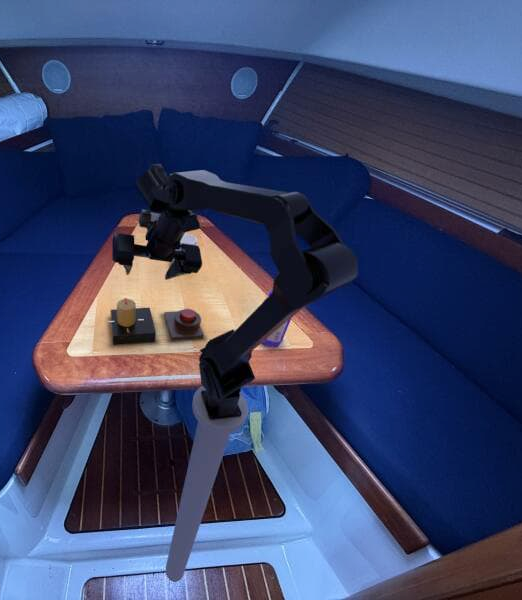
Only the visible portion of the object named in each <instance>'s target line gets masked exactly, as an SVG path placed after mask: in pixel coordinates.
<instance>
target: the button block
mask: <svg viewBox="0 0 522 600" xmlns="http://www.w3.org/2000/svg"><path fill="white" fill-rule="evenodd" d="M182 310H183V309H180V310H178V311H177V310H176V311H164V313H163V316H164V320H165V324H166V327H167V331H168V333H169V337H170V340H171V342H176V341H187V340H188V341H189V340H203V339H204V336H205V335H204V332H203V330H202V327H201V323H202V322H201V321H202V318H201V315H200V314H199V313H198V312H196V311H195V313H196V315H195V320H194V321H193V322H191V323H187V322H183V321H182V320H181V312H182Z"/></svg>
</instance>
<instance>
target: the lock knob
mask: <svg viewBox="0 0 522 600" xmlns="http://www.w3.org/2000/svg"><path fill="white" fill-rule="evenodd" d="M136 308H137V304H136V302H135V300H132V299H130V298H127V297H124V298H122V299H120V300H118V301H117V303H116V309H117V322H118V324H119V325H121V326H124V327H128V326H132V325H133V324H134V323H135V316H136Z"/></svg>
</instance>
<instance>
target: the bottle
mask: <svg viewBox="0 0 522 600" xmlns="http://www.w3.org/2000/svg"><path fill="white" fill-rule="evenodd" d="M272 291H273V289H272V290H270V291H269V292H268V297H269V296H270V294H271V293H272ZM268 297H266V298H265V299H263V302H264V301H265V300H266V299H267V298H268ZM291 320H292V318H291V319H289V320H288V321H287V322H286V323H285V324H283V325H282V326H281V327H280V328H279V329H277V330H276V331H275V332H274V333H273V334H272V335H270V336H269V337H268V338H267V339H266V340H264V341H263V342H262V343H261V344H262V345H266V346H268V347H274V348H275V347H278V346H279V345H280V344H281V343H282V342H283V340H284V338H285V335H286V333H287V331H288V327H289V326H290V323H291Z"/></svg>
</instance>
